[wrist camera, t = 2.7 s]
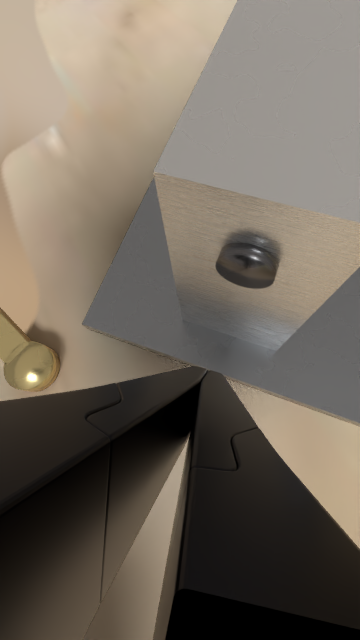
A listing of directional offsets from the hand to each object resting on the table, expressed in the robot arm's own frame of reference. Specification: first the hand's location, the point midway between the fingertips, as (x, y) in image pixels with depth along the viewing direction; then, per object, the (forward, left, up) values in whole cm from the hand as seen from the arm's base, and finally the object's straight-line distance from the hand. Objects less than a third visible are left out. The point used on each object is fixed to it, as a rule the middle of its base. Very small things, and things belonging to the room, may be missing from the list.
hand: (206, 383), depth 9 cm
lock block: (+12, -2, -9) cm, 15 cm away
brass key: (+1, +13, -10) cm, 17 cm away
